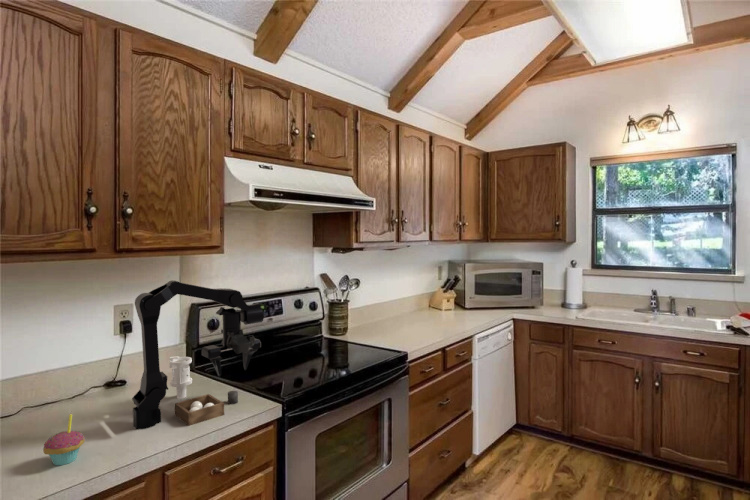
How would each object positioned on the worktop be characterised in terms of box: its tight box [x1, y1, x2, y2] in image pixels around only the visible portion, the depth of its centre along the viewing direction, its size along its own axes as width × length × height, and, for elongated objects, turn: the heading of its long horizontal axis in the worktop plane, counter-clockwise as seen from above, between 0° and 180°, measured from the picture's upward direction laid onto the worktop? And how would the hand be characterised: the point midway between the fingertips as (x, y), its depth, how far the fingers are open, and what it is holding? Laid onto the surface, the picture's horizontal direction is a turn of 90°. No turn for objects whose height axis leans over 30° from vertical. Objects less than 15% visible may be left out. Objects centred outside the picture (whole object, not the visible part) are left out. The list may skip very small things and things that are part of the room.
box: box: [174, 393, 225, 427], centre depth 136 cm, size 11×11×4 cm
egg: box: [190, 401, 203, 409], centre depth 137 cm, size 4×4×4 cm
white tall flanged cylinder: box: [169, 355, 193, 400], centre depth 151 cm, size 7×7×15 cm
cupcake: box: [42, 410, 85, 466], centre depth 110 cm, size 9×8×12 cm
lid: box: [227, 390, 239, 405], centre depth 146 cm, size 11×11×5 cm
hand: (232, 372), depth 146 cm, fingers open, 9 cm apart
